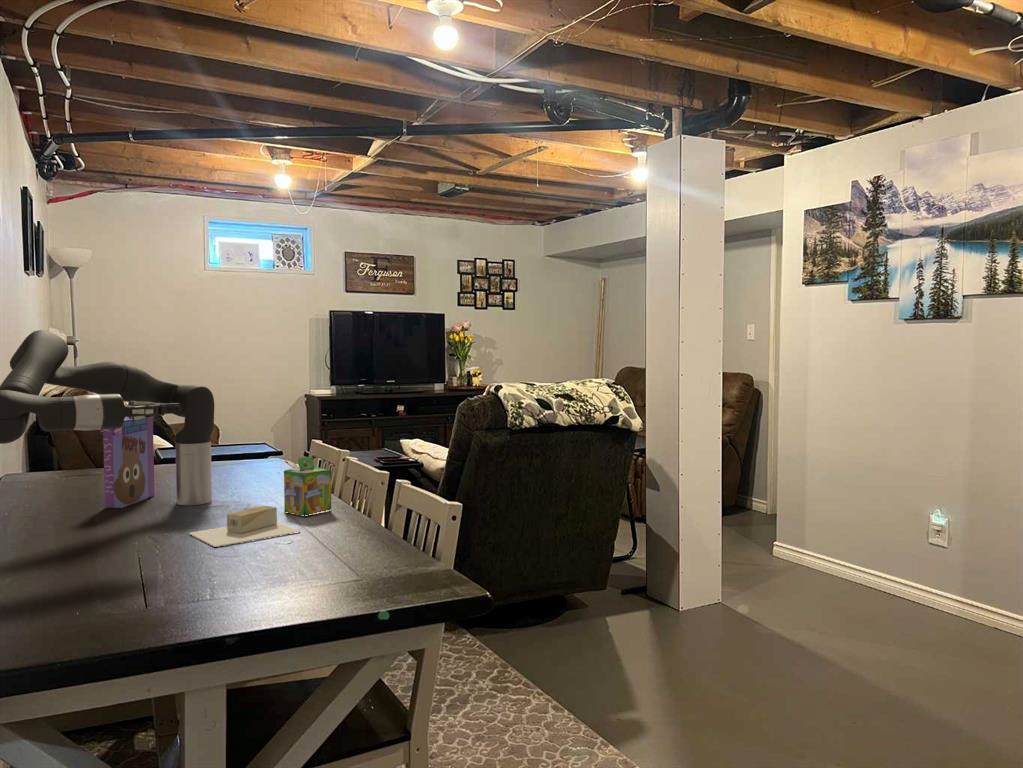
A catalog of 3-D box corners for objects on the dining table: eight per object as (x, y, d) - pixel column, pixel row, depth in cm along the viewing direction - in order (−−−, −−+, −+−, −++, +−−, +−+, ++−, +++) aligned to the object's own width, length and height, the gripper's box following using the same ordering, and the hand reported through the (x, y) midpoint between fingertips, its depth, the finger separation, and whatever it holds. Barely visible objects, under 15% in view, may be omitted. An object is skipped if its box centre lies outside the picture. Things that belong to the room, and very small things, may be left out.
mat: (188, 534, 174) (188, 532, 174) (270, 521, 187) (270, 519, 187) (214, 548, 162) (214, 546, 162) (299, 533, 176) (299, 531, 176)
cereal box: (122, 508, 202) (120, 420, 201) (105, 508, 202) (103, 420, 201) (154, 495, 219) (152, 415, 218) (138, 495, 219) (136, 415, 218)
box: (226, 513, 175) (261, 505, 185) (226, 531, 175) (262, 522, 185) (242, 515, 173) (277, 506, 182) (242, 534, 173) (277, 524, 183)
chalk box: (304, 518, 191) (304, 461, 191) (283, 513, 197) (282, 457, 196) (333, 512, 199) (332, 457, 198) (311, 507, 204) (310, 454, 204)
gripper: (104, 396, 153) (191, 392, 165) (88, 393, 163) (170, 390, 174) (105, 432, 153) (191, 426, 165) (88, 427, 163) (171, 422, 175)
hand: (180, 408), depth 170 cm, fingers closed
